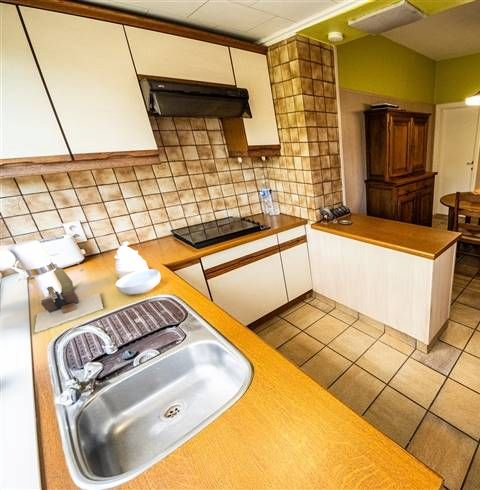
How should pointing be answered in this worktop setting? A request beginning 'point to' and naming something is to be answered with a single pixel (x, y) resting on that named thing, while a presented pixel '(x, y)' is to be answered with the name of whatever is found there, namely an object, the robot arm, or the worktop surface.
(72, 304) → the cork block
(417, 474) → the worktop surface
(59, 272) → the squeeze bottle
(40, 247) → the robot arm
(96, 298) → the board
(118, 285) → the cereal bowl
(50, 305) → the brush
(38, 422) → the worktop surface
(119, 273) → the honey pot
